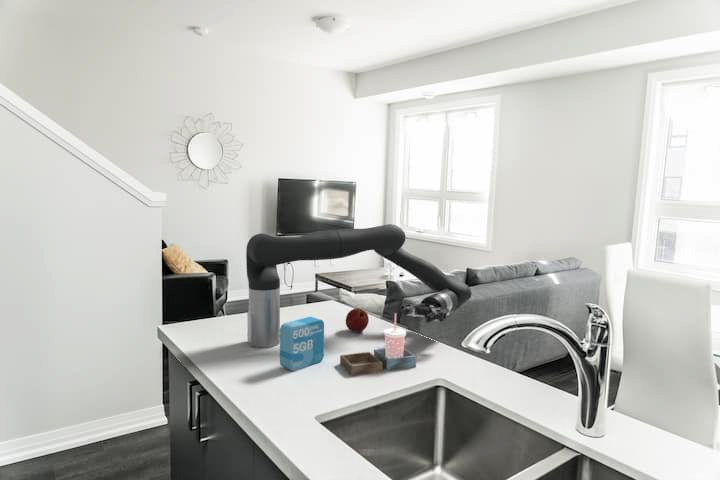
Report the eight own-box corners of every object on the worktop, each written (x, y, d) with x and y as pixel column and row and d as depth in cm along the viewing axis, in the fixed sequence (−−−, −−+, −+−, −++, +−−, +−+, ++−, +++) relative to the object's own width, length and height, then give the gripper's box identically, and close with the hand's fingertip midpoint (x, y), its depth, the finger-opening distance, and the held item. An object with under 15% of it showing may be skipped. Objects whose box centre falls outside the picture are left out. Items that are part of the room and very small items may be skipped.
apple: (352, 336, 157) (352, 312, 157) (341, 329, 164) (341, 306, 163) (371, 333, 161) (372, 309, 160) (360, 327, 168) (360, 304, 167)
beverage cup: (379, 360, 136) (380, 311, 134) (398, 358, 138) (400, 309, 137) (389, 368, 130) (390, 317, 129) (409, 365, 133) (411, 315, 131)
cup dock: (351, 375, 125) (351, 364, 125) (340, 364, 133) (340, 353, 132) (415, 366, 132) (416, 356, 132) (401, 356, 140) (401, 346, 139)
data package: (290, 372, 126) (290, 327, 125) (279, 368, 129) (279, 323, 128) (324, 361, 135) (324, 318, 134) (313, 357, 138) (313, 315, 137)
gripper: (416, 291, 159) (392, 300, 146) (458, 297, 151) (436, 308, 138) (416, 313, 160) (391, 325, 146) (457, 321, 152) (435, 333, 139)
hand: (413, 316), depth 142 cm, fingers open, 8 cm apart
